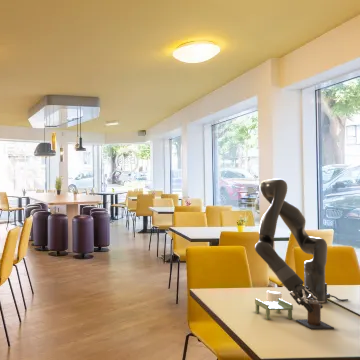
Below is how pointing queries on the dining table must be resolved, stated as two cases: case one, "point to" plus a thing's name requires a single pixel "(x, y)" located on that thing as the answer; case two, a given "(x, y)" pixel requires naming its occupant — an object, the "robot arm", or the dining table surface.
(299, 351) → the dining table surface
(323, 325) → the mat
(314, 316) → the brown bottle
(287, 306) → the tray
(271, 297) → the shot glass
